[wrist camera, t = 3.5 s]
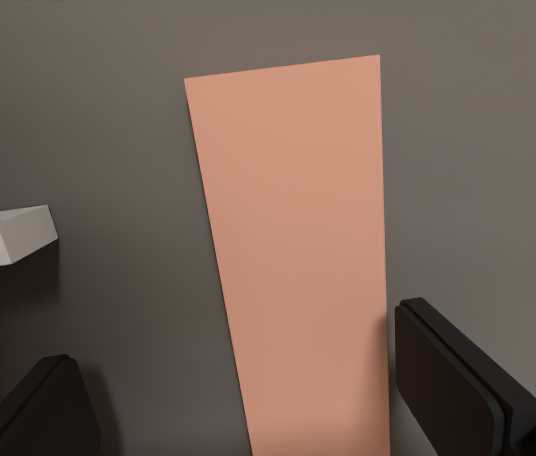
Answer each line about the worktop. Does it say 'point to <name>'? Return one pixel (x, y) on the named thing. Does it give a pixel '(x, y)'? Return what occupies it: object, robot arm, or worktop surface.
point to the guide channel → (290, 248)
